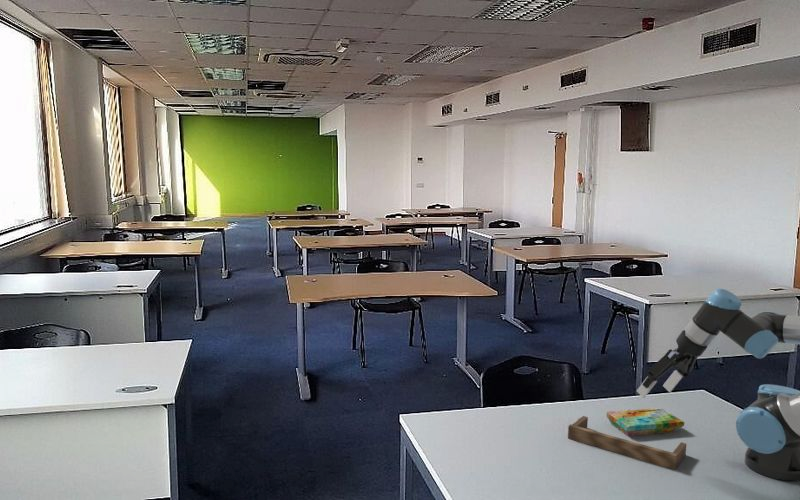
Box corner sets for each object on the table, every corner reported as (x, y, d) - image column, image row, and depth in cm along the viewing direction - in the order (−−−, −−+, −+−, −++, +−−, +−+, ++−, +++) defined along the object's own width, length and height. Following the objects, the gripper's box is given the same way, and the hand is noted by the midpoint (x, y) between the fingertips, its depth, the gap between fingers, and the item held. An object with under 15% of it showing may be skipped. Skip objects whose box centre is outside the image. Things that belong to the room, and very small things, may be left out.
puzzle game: (606, 409, 203) (661, 405, 208) (606, 423, 204) (660, 419, 208) (627, 424, 192) (684, 419, 196) (626, 438, 192) (683, 433, 197)
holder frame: (685, 455, 181) (686, 442, 181) (674, 469, 173) (675, 455, 172) (582, 426, 200) (583, 414, 200) (567, 438, 192) (568, 425, 191)
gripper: (708, 326, 184) (667, 377, 194) (660, 331, 169) (619, 386, 179) (729, 343, 179) (686, 395, 189) (682, 350, 164) (638, 406, 174)
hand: (653, 391), depth 184 cm, fingers open, 13 cm apart
